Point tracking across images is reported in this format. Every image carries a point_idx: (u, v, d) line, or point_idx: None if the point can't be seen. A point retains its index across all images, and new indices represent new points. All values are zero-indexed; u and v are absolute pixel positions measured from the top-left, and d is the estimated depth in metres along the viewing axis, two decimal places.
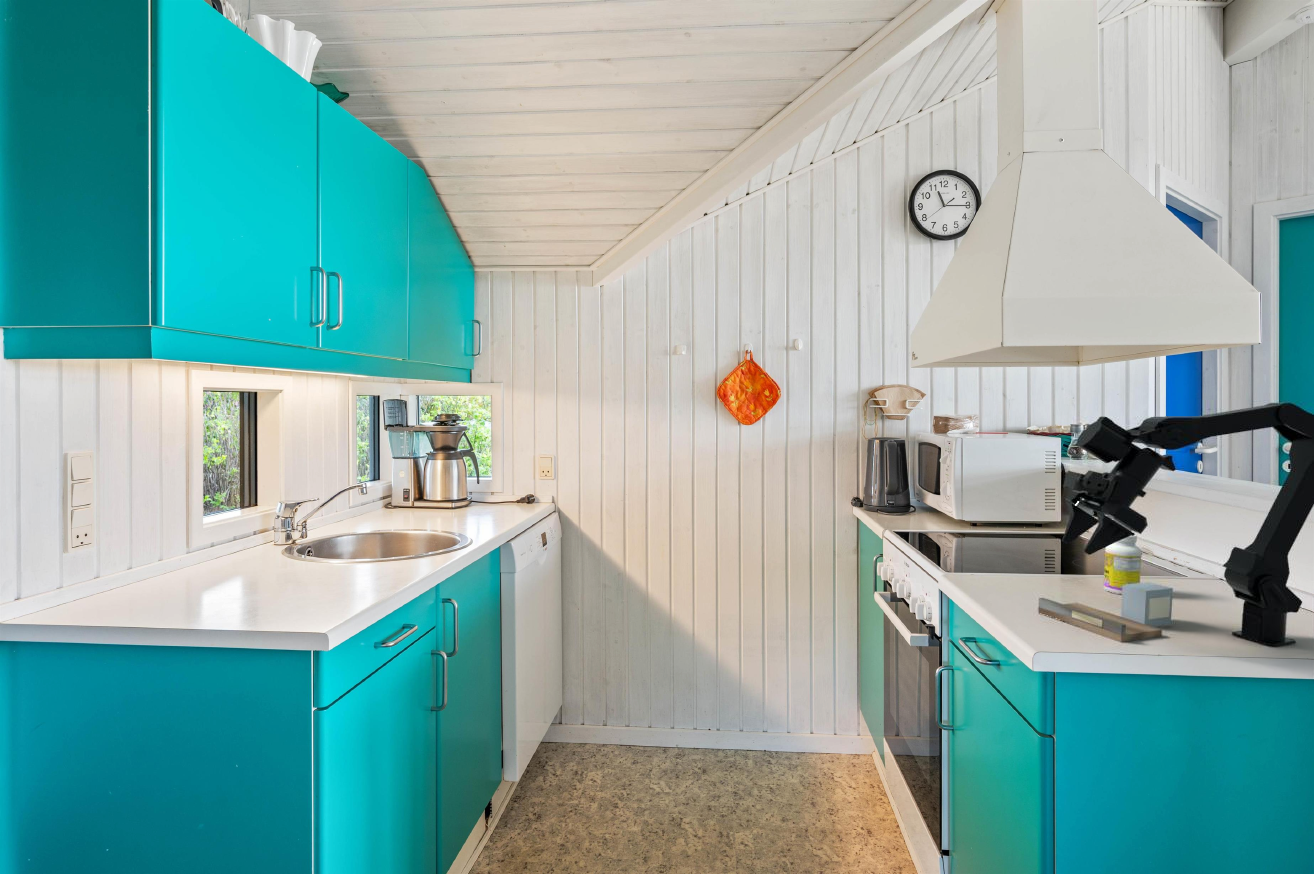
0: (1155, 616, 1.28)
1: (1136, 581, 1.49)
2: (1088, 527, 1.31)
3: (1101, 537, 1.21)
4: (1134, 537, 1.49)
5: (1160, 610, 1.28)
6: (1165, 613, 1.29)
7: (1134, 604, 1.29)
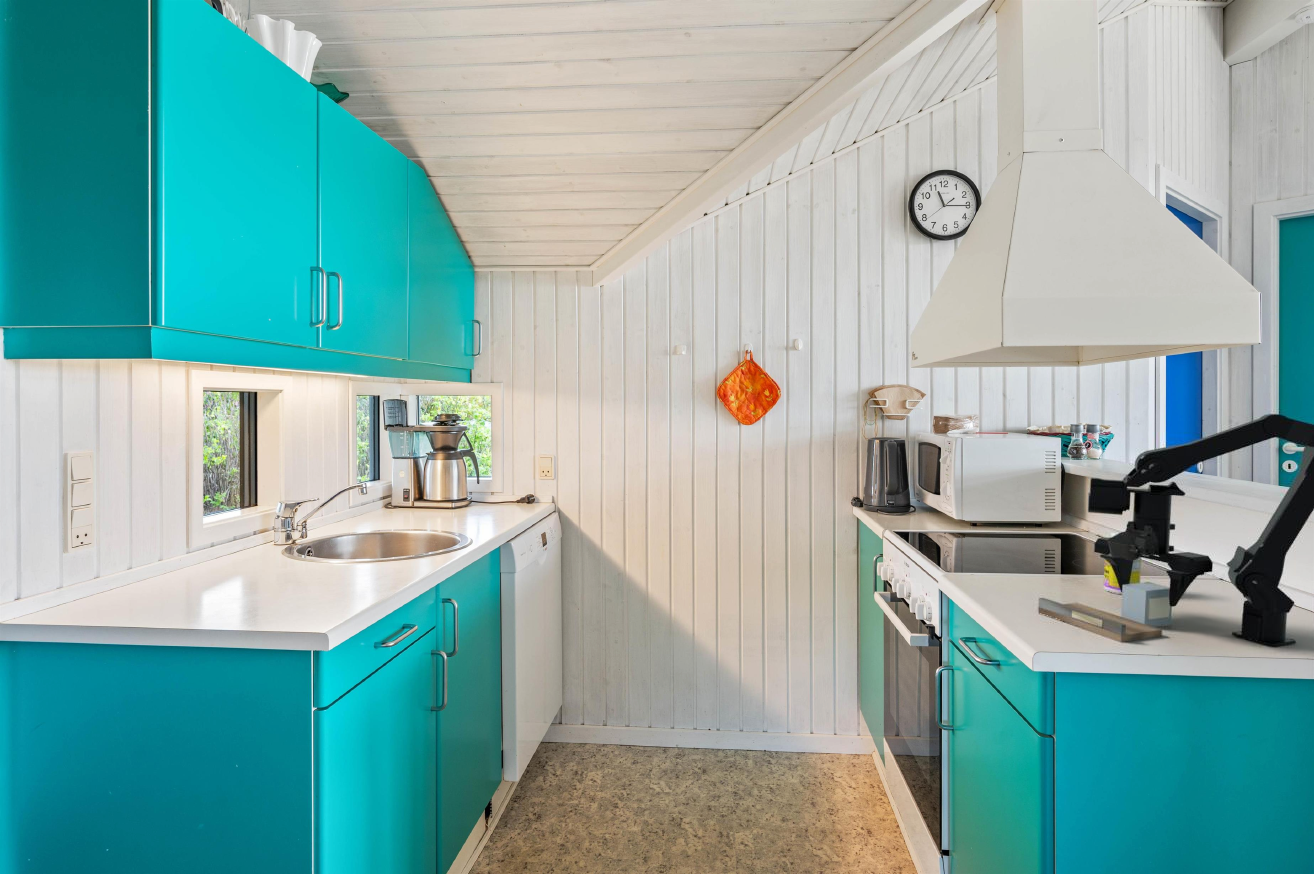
0: (1155, 616, 1.28)
1: (1136, 581, 1.49)
2: (1131, 567, 1.35)
3: (1179, 588, 1.25)
4: None
5: (1160, 610, 1.28)
6: (1165, 613, 1.29)
7: (1134, 604, 1.29)
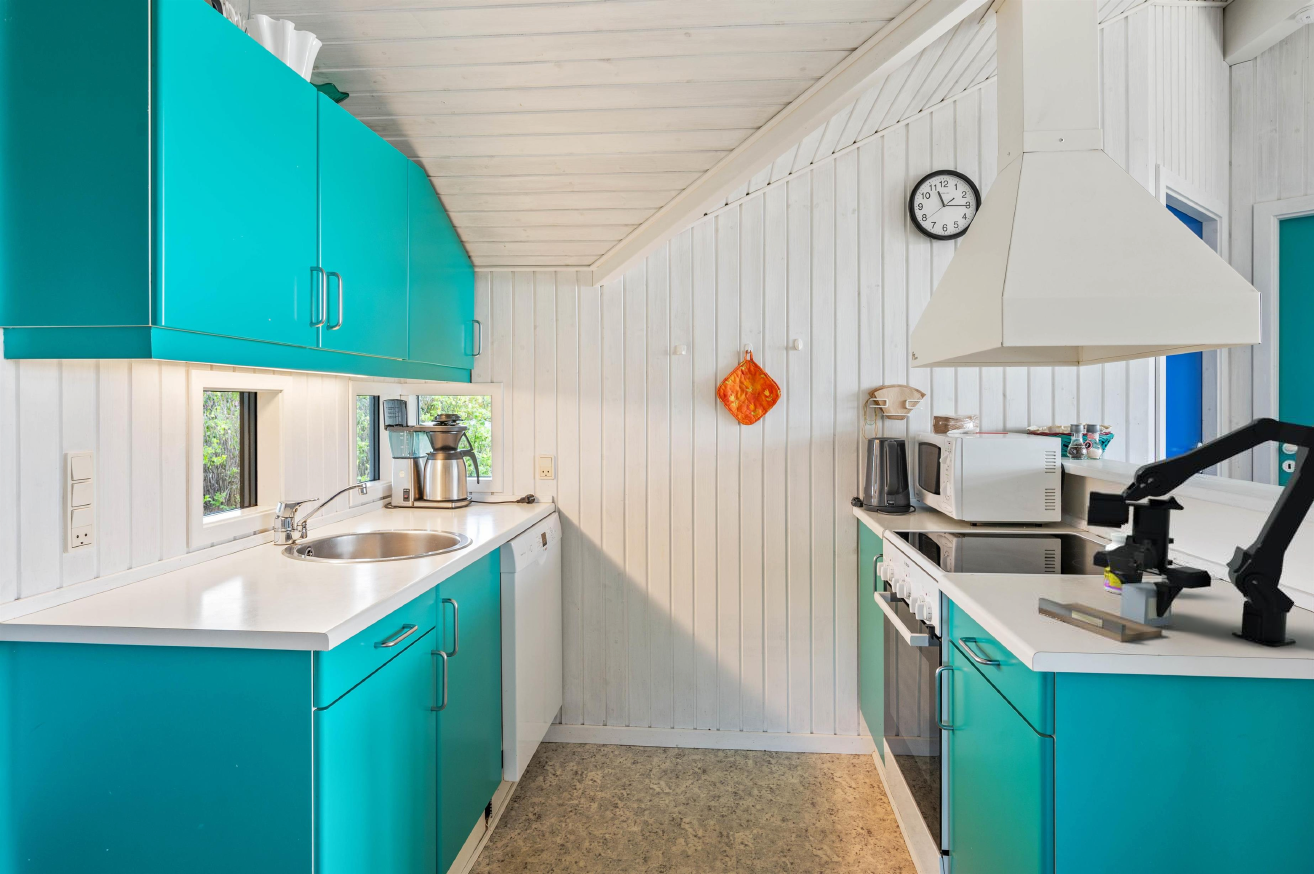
0: (1155, 616, 1.28)
1: None
2: None
3: (1166, 599, 1.27)
4: None
5: None
6: None
7: (1134, 603, 1.29)
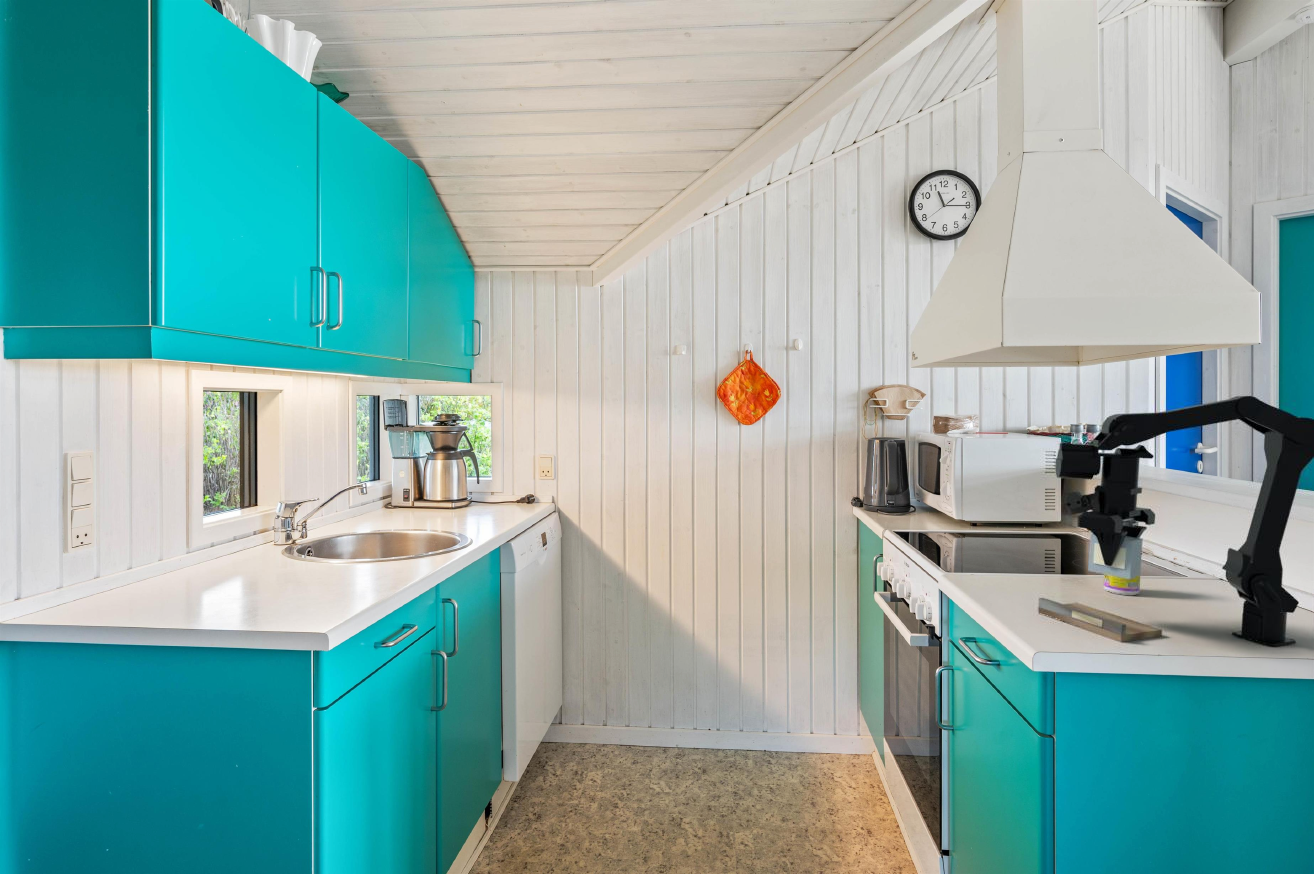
0: (1103, 563, 1.29)
1: (1136, 581, 1.49)
2: None
3: (1105, 546, 1.27)
4: None
5: None
6: (1118, 564, 1.27)
7: None
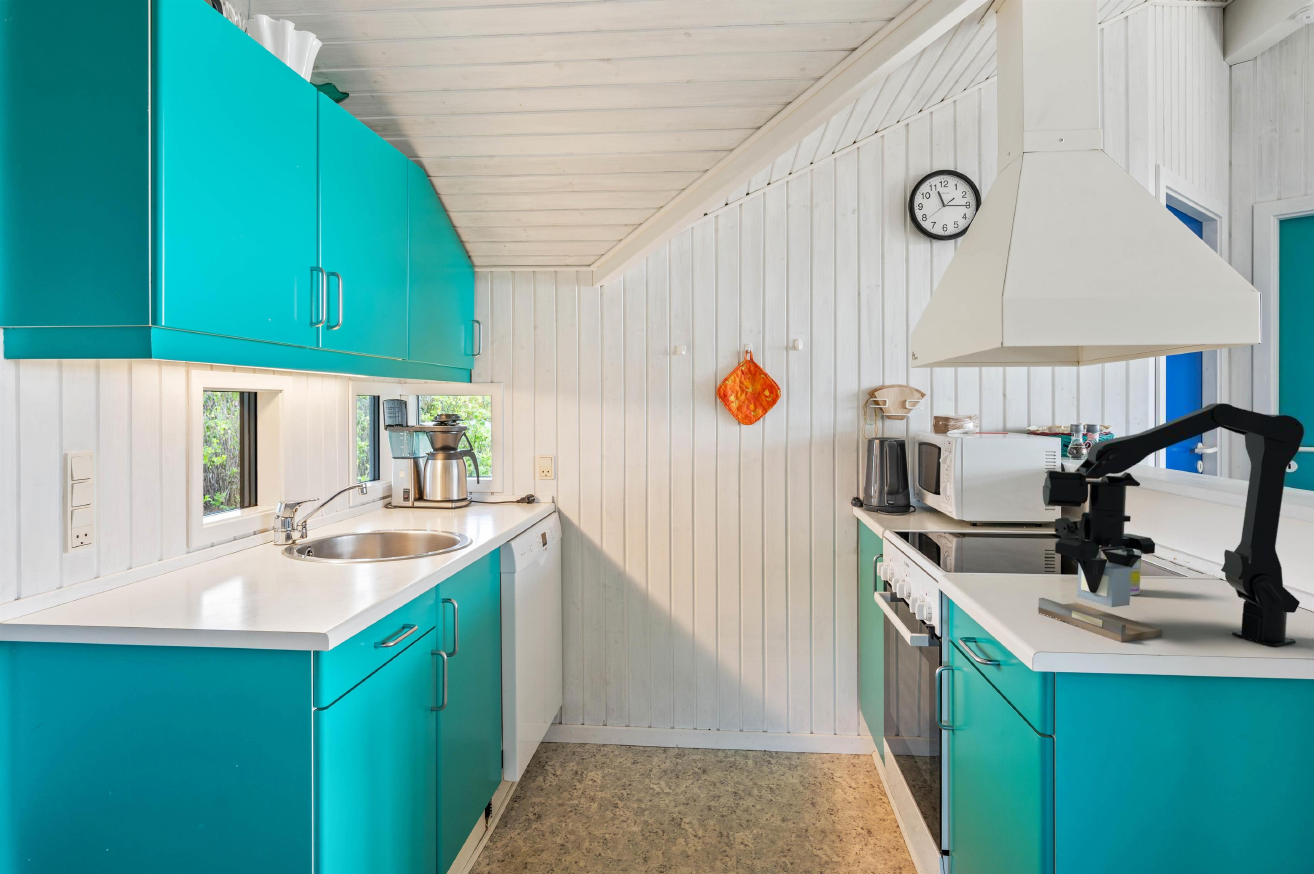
0: None
1: (1136, 581, 1.49)
2: None
3: (1088, 573, 1.28)
4: None
5: None
6: (1101, 591, 1.27)
7: None
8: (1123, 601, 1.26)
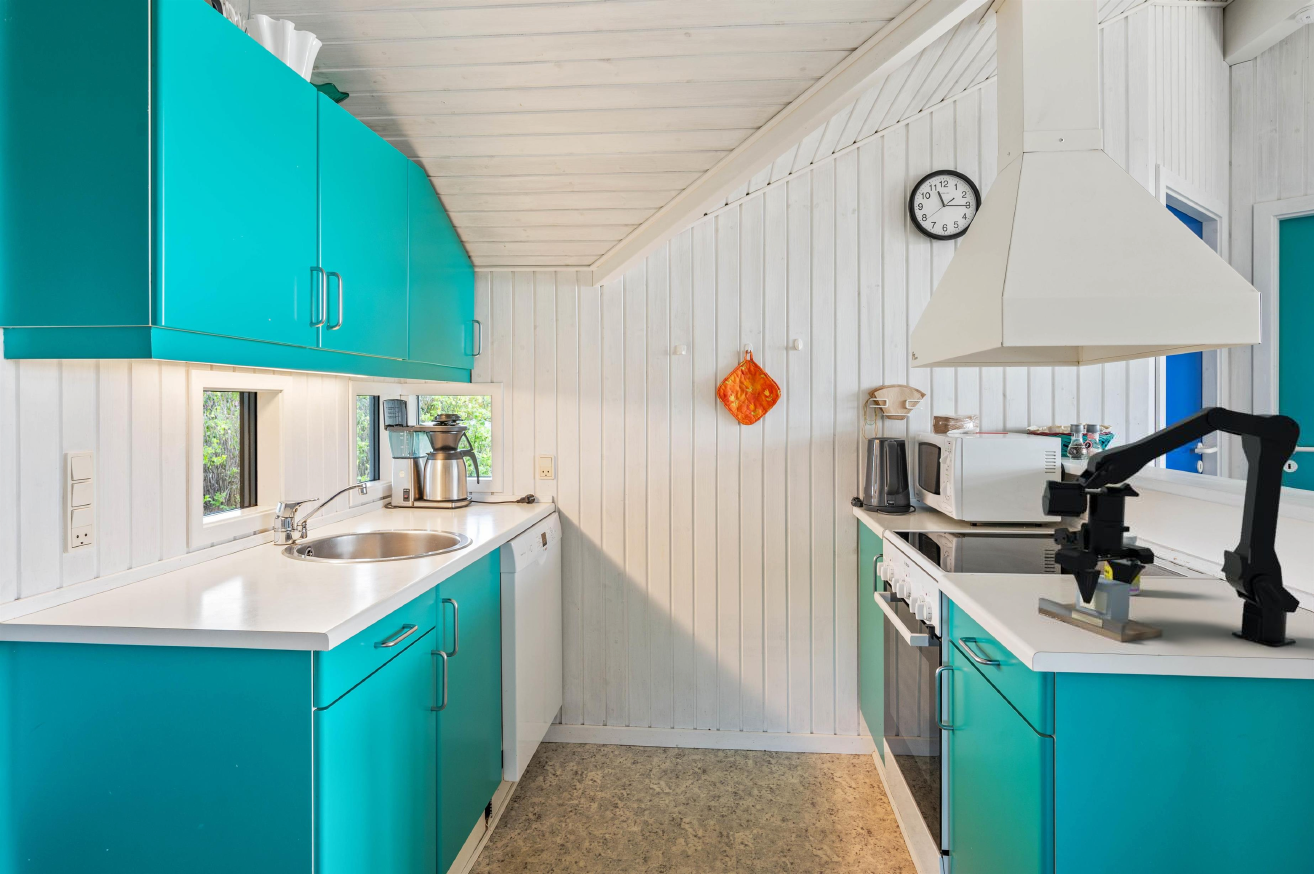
0: (1087, 606, 1.30)
1: (1136, 581, 1.49)
2: (1128, 577, 1.29)
3: (1082, 584, 1.28)
4: (1134, 537, 1.49)
5: (1093, 601, 1.29)
6: (1100, 608, 1.27)
7: None
8: (1122, 618, 1.27)
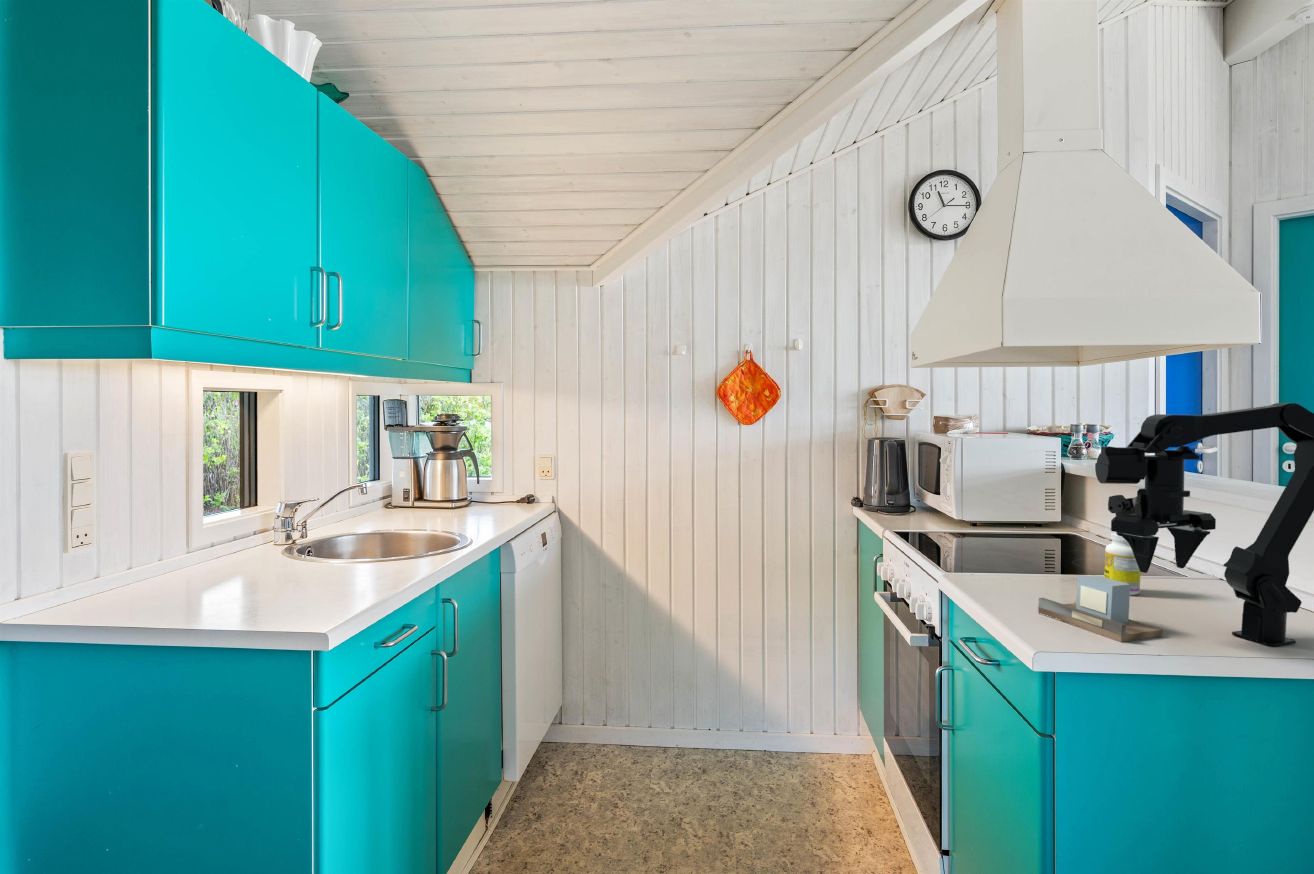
0: (1087, 606, 1.30)
1: (1136, 581, 1.49)
2: (1192, 544, 1.24)
3: (1138, 552, 1.23)
4: None
5: (1093, 601, 1.29)
6: (1100, 608, 1.27)
7: None
8: (1122, 618, 1.27)
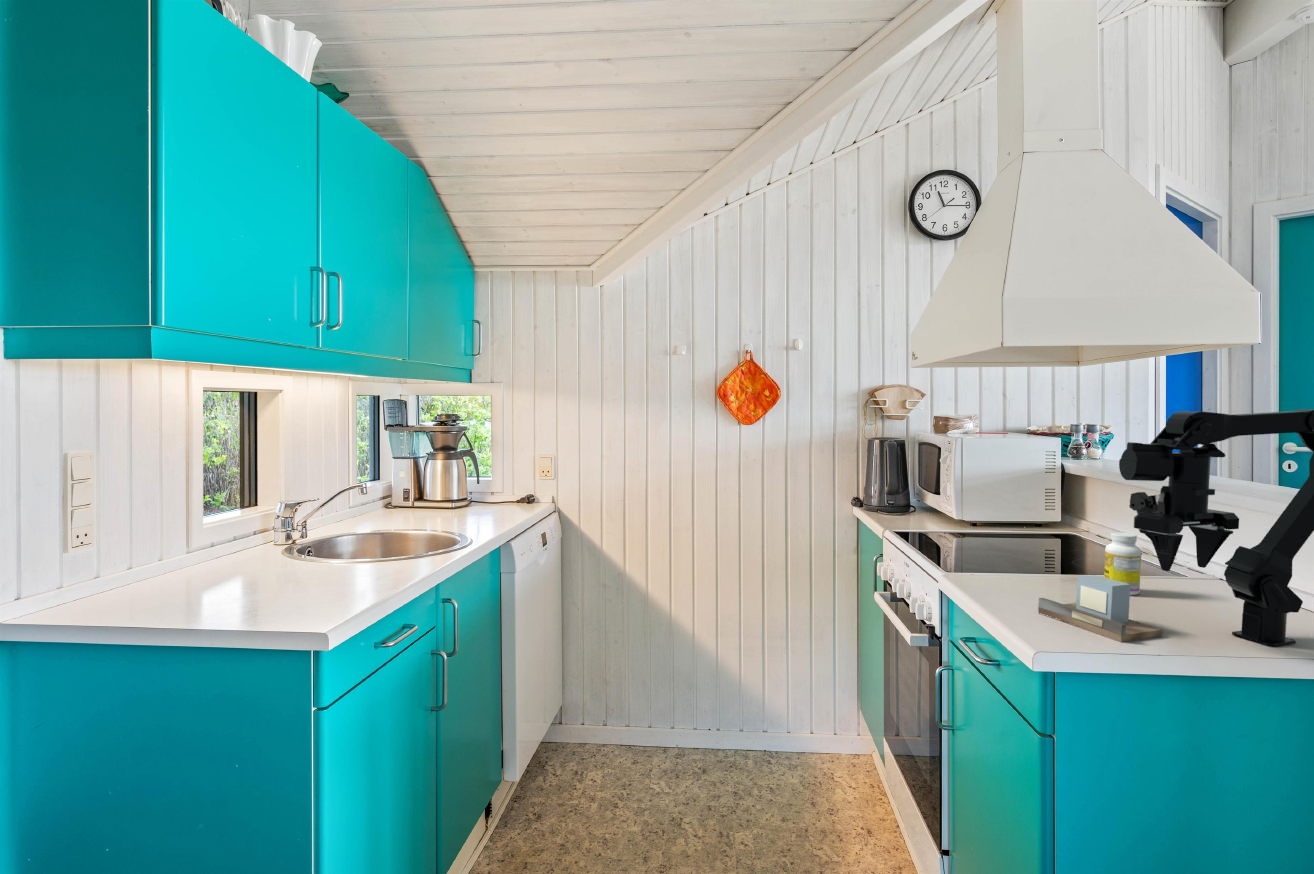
0: (1087, 606, 1.30)
1: (1136, 581, 1.49)
2: (1215, 543, 1.23)
3: (1160, 550, 1.21)
4: (1134, 537, 1.49)
5: (1093, 601, 1.29)
6: (1100, 608, 1.27)
7: None
8: (1122, 618, 1.27)
